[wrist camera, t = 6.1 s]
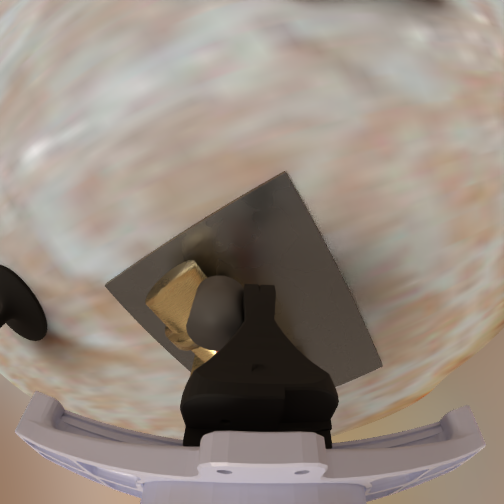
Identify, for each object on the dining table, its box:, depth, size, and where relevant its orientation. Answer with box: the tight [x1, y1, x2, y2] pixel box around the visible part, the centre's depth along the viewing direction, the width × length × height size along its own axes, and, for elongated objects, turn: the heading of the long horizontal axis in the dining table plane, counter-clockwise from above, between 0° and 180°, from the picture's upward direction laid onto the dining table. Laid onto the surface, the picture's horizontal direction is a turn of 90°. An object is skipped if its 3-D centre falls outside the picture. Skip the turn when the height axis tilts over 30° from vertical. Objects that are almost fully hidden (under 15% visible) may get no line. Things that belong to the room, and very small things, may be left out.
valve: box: [105, 171, 382, 387], centre depth 20 cm, size 21×16×6 cm
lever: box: [186, 276, 244, 353], centre depth 14 cm, size 12×3×2 cm, turn 8°
